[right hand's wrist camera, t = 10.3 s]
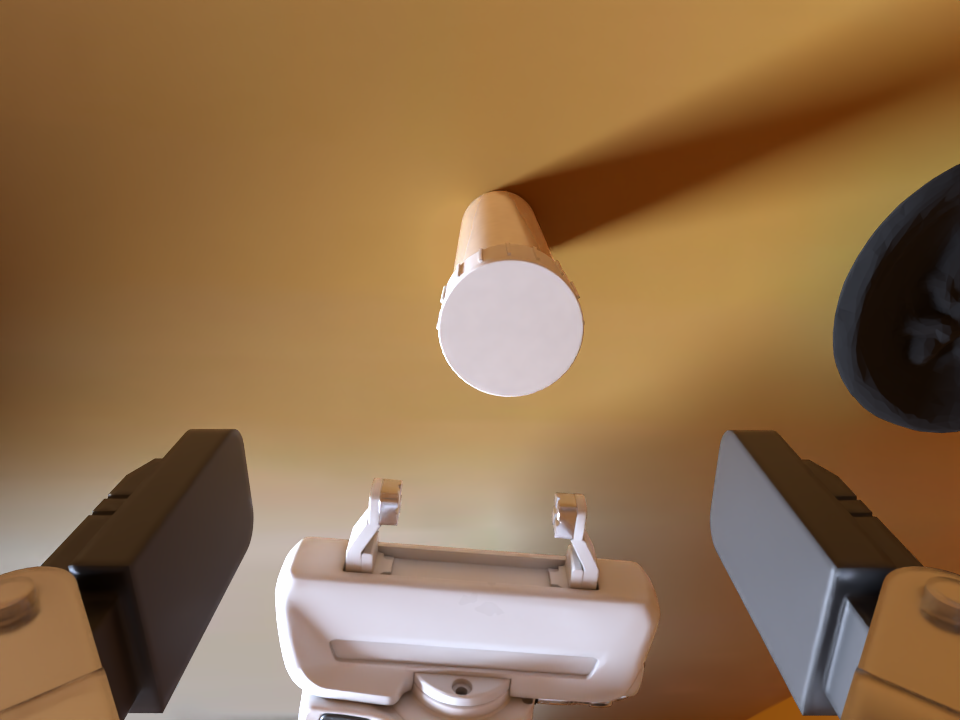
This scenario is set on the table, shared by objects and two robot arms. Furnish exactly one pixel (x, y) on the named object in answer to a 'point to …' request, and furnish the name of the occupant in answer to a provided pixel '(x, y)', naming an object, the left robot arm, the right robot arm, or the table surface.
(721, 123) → the table surface
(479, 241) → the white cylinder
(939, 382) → the oil lamp
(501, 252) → the lid
